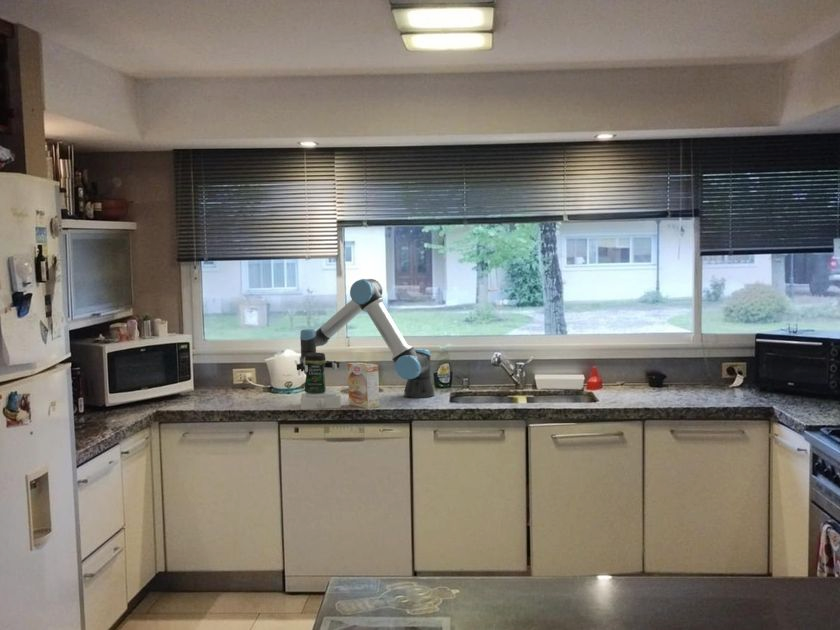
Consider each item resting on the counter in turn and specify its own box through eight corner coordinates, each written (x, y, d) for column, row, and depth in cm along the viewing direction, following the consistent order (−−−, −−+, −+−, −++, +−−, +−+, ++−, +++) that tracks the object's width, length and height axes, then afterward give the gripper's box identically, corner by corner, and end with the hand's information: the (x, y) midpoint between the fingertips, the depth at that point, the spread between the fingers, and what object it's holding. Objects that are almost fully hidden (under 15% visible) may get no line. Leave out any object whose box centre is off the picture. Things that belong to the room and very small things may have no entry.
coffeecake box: (348, 404, 358) (347, 363, 356) (360, 402, 362) (359, 361, 361) (367, 408, 346) (366, 366, 345) (379, 406, 351) (378, 364, 350)
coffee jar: (303, 393, 351) (303, 353, 351) (306, 391, 359) (306, 352, 359) (324, 393, 351) (324, 353, 351) (327, 391, 359) (326, 351, 359)
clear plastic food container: (340, 402, 364) (339, 389, 364) (340, 408, 349) (340, 394, 348) (302, 403, 362) (301, 390, 362) (301, 409, 347) (300, 396, 346)
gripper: (337, 369, 376) (348, 374, 356) (287, 372, 368) (294, 377, 348) (337, 353, 375) (347, 358, 355) (286, 356, 367) (294, 361, 347)
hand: (321, 367), depth 351 cm, fingers open, 13 cm apart
